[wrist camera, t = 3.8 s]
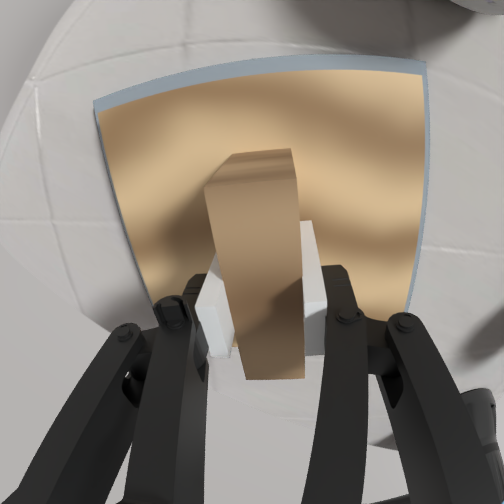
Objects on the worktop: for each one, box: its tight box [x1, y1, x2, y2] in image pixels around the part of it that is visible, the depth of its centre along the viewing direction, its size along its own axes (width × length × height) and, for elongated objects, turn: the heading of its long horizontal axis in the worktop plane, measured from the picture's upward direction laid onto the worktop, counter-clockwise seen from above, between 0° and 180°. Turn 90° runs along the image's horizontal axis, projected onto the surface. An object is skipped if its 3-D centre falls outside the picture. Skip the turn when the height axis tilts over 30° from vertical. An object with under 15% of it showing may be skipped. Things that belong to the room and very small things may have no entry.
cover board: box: [97, 70, 425, 380], centre depth 15 cm, size 18×18×7 cm
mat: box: [93, 54, 430, 313], centre depth 18 cm, size 20×20×1 cm
